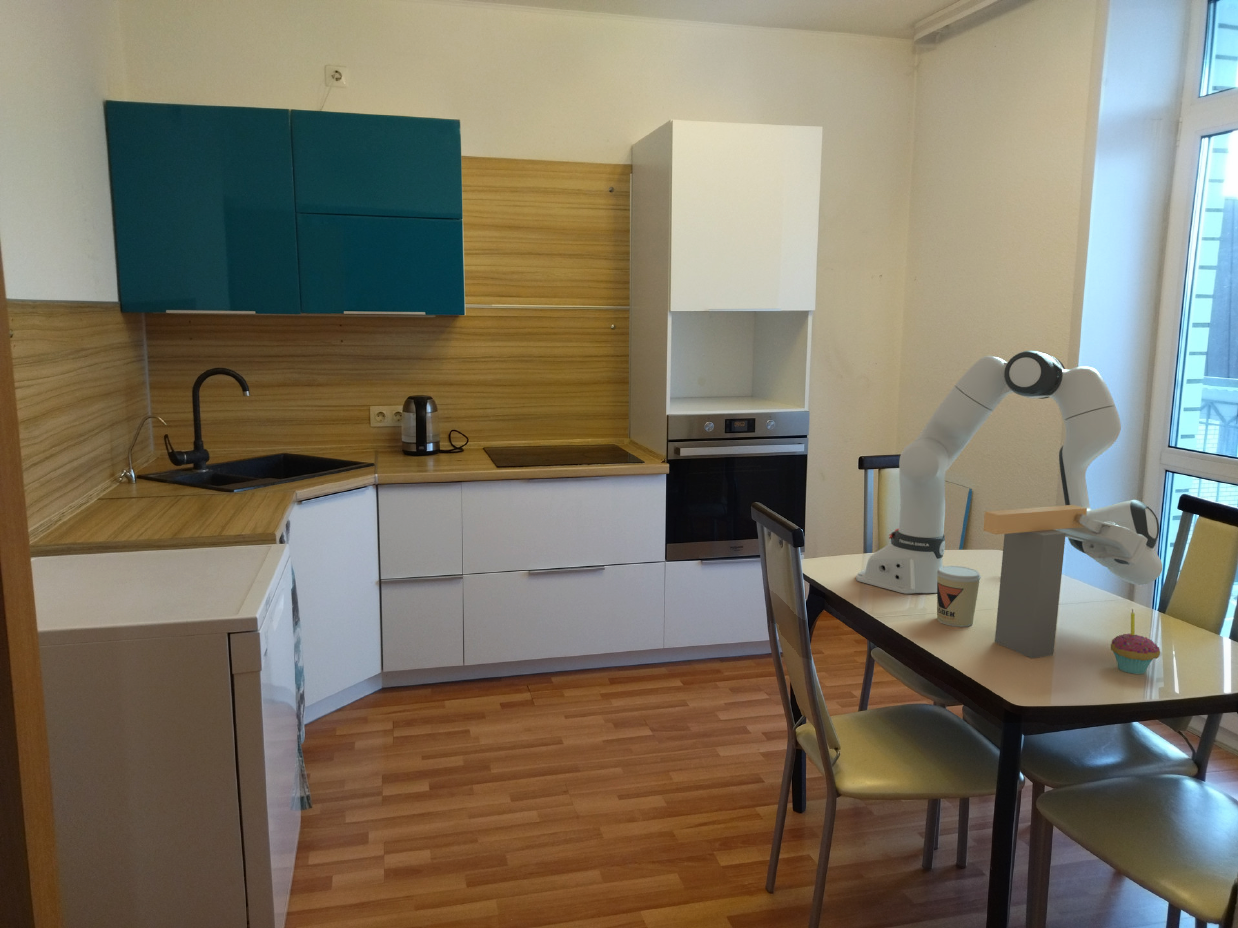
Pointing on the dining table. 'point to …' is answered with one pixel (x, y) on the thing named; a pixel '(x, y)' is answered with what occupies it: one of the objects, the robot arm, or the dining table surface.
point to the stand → (1030, 591)
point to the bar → (1032, 519)
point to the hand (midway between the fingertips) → (1067, 514)
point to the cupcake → (1134, 651)
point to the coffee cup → (957, 595)
